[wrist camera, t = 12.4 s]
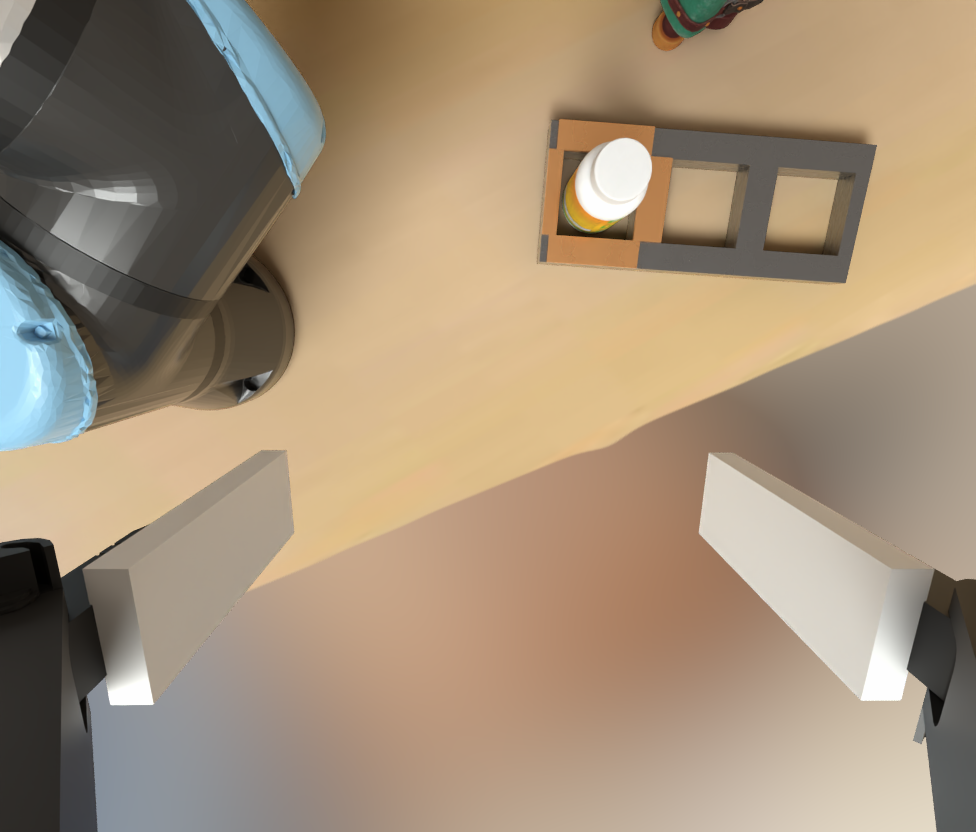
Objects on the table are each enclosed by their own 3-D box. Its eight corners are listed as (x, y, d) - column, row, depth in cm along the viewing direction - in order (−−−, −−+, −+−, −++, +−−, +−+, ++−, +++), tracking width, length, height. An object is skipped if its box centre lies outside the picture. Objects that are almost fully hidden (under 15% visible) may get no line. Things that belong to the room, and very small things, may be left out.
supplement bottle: (593, 247, 42) (625, 229, 32) (548, 206, 41) (567, 175, 32) (634, 197, 41) (679, 163, 32) (589, 154, 40) (621, 106, 31)
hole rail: (536, 263, 42) (539, 261, 40) (548, 129, 40) (552, 118, 38) (829, 284, 43) (848, 282, 41) (857, 153, 40) (879, 143, 38)
